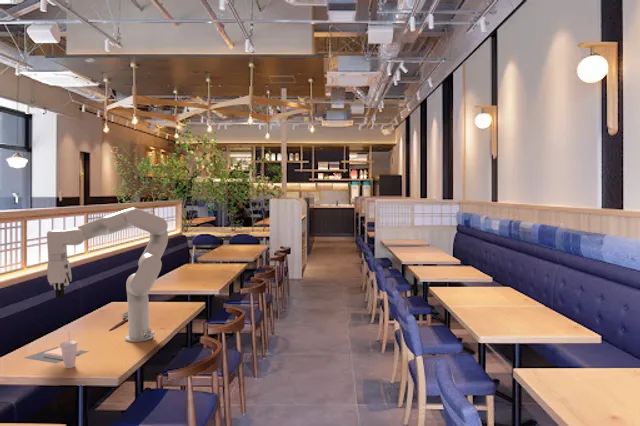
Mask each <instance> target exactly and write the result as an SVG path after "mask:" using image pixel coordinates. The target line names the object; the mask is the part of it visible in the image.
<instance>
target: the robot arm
mask: <svg viewBox="0 0 640 426" xmlns="http://www.w3.org/2000/svg"><path fill="white" fill-rule="evenodd" d="M131 227H134V228H137V229H140V230H143V231H145V232H146V233H147V232H148V233H149V239H148V243H147V245H146V247H145V248H144V251H143V253H141V256H140V257H139V260H138V261H137V264H138V269H137V270H136V272H134V273H132V274H131V275H129V276H128V278H127V280H126V283H125V284H126V285H125V287H126V298H127V299H126V300H127V312H128V320H127V323H128V324H127V325H128V327H127V328H128V335H126V336H125V341H126V342H129V343H137V342H138V343H139V342H145V341H149V340H150V339H153V337H154V336H155V335H156V331H152V328H151V327H150V309H149V307H150V306H149V305H150V304H149V301H150V300H149V292H150V291H151V290H152V287H153V285H154V283H155V282H156V280H157V278H158V276H159V274H160V272H161V270H162V267H163V265H162V263H163V262H162V260H161V259H162V256H163V255H164V253H165V251H166V248H167V246H168V242H169V234H168V233H169V232H168V222H167V220H165V219H164V217H160V216H158V215H155V214H153V213H150V212H148V211H145V210H142V209H140V208H138V207H129V208H126V209H123V210H121V211H118V212H117V211H116V212H115V213H111V214H109V215H108V214H107V215H105V216H103V217H100V218H98V219H96V220H92V221H89V222H86V223H83V224H81V225H78V226H75V227H71V228H69V229H67V230H64V229H52V230H48V231H47V232H46V242H47V244H46V245H47V260H48V261H47V268H46V269H47V270H46V273H47V274H46V277H47V282H48V283H49V285H50V286H52V287H53V289H54V292H55V299H56V300H61V299H65V289H66V286H67V287H68V286H69V285H70V282H72V281H73V280H72V279H73V278H72V277H73V275H72V269H71V268H72V267H71V264H70V260H69V259H68V246H79V245H81V244H83V243H84V242H85V241H87V240H90V239H93V238H96V237H100V236H107V235H112V234H115V233H117V232H120V231H123V230H126V229H128V228H131Z"/></svg>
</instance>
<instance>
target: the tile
mask: <svg viewBox="0 0 640 426" xmlns="http://www.w3.org/2000/svg"><path fill="white" fill-rule="evenodd" d="M59 347H60V346H59ZM79 350H80V349H76V355H78V354H79ZM78 356H79V355H78ZM44 357H49V358H55V359H61V360H63V355H62V350H61V347H60V348H57V349H54V350H51V351H48V352H45V353H44Z"/></svg>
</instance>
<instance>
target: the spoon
mask: <svg viewBox="0 0 640 426" xmlns="http://www.w3.org/2000/svg"><path fill="white" fill-rule="evenodd" d="M121 317H123V318H124V319H123V320H121V321H120V322H119V323H117V324H115V325H114V326H112V328H110V329H109V330H108V331H109V332H111V331H113V330H115V329H118V328H119V327H120V326H122V325H123V324H124V323H126V322H128V311H127V312H124V313H122V314H121Z"/></svg>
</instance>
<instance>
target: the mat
mask: <svg viewBox="0 0 640 426" xmlns="http://www.w3.org/2000/svg"><path fill="white" fill-rule="evenodd" d="M57 348H60V346H56V347H53V348H50V349H46V350H44V351H40V352H38V353H33V354H31V355H28V356H26V357H25V356H24V359H28V360H35V361H40V362H46V363H52V364H59V363H61V362H64V361H63V360H61V359H55V358H49V357H44V353H45V352H48V351H51V350H54V349H57ZM78 350H79V354H78V355H76V357H78V356H80V355H83V354H86V353H88V352H89V351H87V350H83V349H82V350H81V349H78Z"/></svg>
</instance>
